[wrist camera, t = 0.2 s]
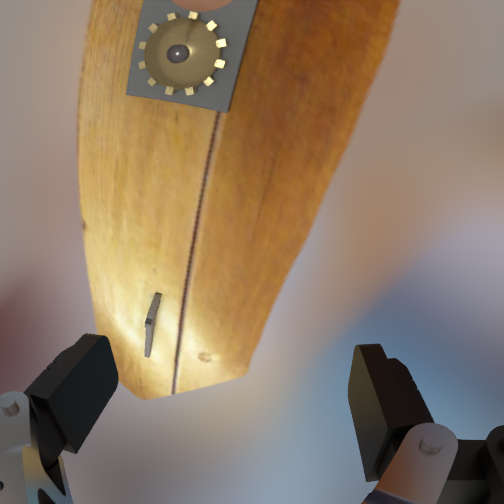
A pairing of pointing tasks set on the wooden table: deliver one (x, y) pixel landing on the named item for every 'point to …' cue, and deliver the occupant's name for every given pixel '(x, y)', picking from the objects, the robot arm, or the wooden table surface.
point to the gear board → (231, 28)
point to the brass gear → (182, 53)
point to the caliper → (151, 323)
